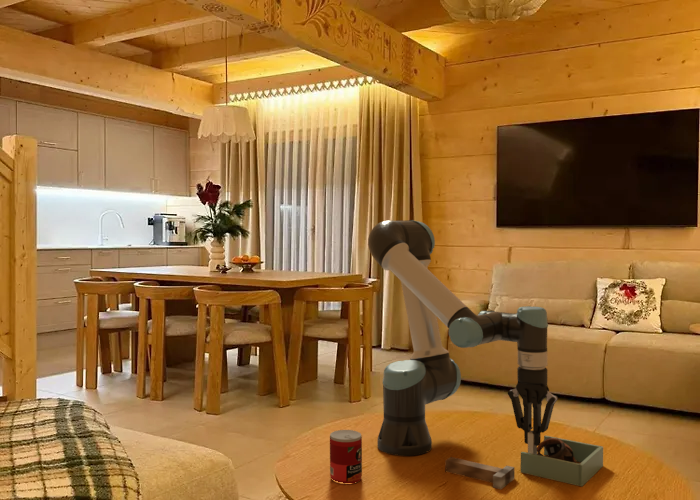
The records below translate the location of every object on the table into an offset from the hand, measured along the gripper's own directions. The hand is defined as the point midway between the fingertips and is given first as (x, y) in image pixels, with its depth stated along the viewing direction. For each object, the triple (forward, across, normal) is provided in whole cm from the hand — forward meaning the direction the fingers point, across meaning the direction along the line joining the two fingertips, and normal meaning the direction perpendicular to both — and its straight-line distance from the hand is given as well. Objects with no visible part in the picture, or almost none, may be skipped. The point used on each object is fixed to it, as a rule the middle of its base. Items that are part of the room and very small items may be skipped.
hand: (532, 456), depth 169 cm
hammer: (+2, -7, -17) cm, 19 cm away
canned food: (+2, -32, -38) cm, 50 cm away
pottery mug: (+2, +6, +1) cm, 6 cm away
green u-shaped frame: (+2, +8, 0) cm, 8 cm away
